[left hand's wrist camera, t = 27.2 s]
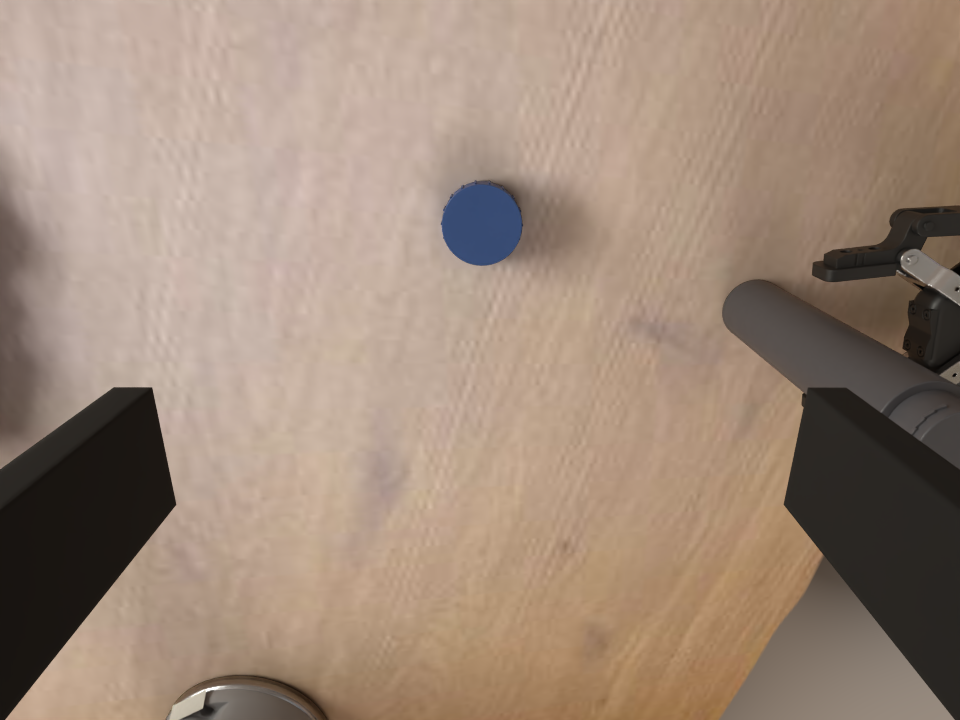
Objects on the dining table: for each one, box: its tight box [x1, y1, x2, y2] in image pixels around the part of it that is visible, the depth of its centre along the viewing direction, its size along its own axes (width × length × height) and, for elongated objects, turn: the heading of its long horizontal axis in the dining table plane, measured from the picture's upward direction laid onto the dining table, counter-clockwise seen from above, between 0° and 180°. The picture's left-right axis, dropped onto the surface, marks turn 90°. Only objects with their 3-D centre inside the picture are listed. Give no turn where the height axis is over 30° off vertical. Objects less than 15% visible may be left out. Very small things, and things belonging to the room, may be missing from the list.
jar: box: [722, 280, 960, 469], centre depth 34 cm, size 4×4×20 cm
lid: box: [441, 180, 523, 266], centre depth 40 cm, size 5×5×2 cm
